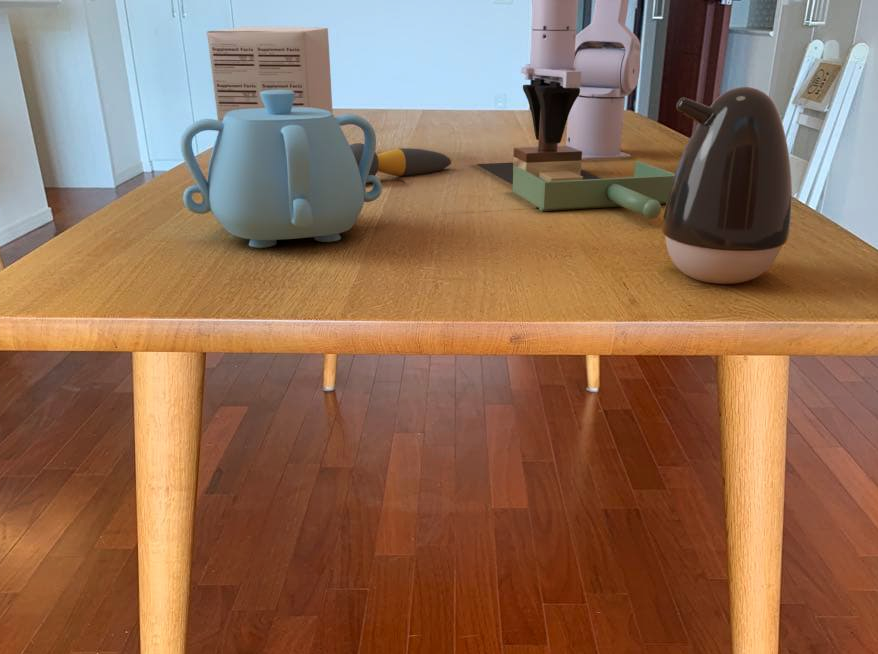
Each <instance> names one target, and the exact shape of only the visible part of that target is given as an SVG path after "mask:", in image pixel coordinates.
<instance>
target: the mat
mask: <svg viewBox="0 0 878 654" xmlns="http://www.w3.org/2000/svg"><path fill="white" fill-rule="evenodd" d="M476 166H478V167H480V168H481V169H484V170H485V171H487V172H489V173H491V174H492V175H494V176H496V177H497V178H499V179H501V180H503V181H505V182H506V183H509V184H510V185H512V186H513V162H495V163H493V162H492V163H476ZM580 176H582V177H583V180H588V179H602V178H601V177H599V176H597V175H594V174H592V173H589V172H587V171H585V170H583V169H581V174H580Z"/></svg>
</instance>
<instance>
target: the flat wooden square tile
mask: <svg viewBox="0 0 878 654" xmlns="http://www.w3.org/2000/svg"><path fill="white" fill-rule="evenodd" d="M538 177H539V178H541V179H543V180H545V181H547V182H549V181H569V180H583V177H582V176H580V175H578V174H576V173H573V172H571V171H550V172H539V173H538Z"/></svg>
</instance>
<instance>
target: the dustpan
mask: <svg viewBox="0 0 878 654" xmlns="http://www.w3.org/2000/svg"><path fill="white" fill-rule="evenodd" d="M634 163H635V164H634V173H633V176H631V177H630V176H629V177H613V178H611V177H610V178H601V179H588V180H569V181H549V182H547V181H545V180H543V179H541V178H539V177H537V176H535V175H533V174H531V173H529V172H527V171H525V170H523V169H521V168H519V167H517V166H516V167H513V185H512V193H513V194H515V195H517V196H519V197H521V198H522V199H524V200H525V201H527V202H529V203H531V204H533V206H536V207H535V208H536V209H537V210H539V211H541V212H552V211H554V212H555V211H568V210H569V211H571V210H585V209H586V210H587V209H601V208H602V209H603V208H604V209H605V208H618V207H619V208H620V207H622V208H625V209H627V210H629V211H631V212H633V213H635V214H638V215H640V216H642V217H644V218H646V219H649V220H653V219H656V218H658V217H659V216H660V214H661V212H662V205H666V203H667V200H668V196H669V192H670V188H671V185H672V182H673V178H674V175H675V173H676V172H675V173H674V172H672V171H668V170H666V169H663V168H661V167H657V166H655V165H652V164H649V163H646V162H643V161H641V160H635V162H634Z"/></svg>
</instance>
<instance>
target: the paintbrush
mask: <svg viewBox="0 0 878 654" xmlns="http://www.w3.org/2000/svg"><path fill="white" fill-rule="evenodd" d="M349 145H350V147H351V150H352V152H353V154H354V156H355V159H356V162H357V165H358V168H359V165H360V161H361V158H362V154H363V150H364V143H359V142H357V143H352V144H349ZM451 163H452V160H451V158H450V156H449V157H448V155H445V154H444V153H441V152H438V151H434V150H428V149H420V148H405V147H404V148H403V147H402V148H393V149H391V150H387V151H384V152H381V153H378V154H377V152H375V153H374V157H373V161H372V164H371V167H370V171H369V174H368V175H374V176H376V175H377V173H378V172H379V173H381V174H385V175H389V176H393V177H411V176H419V175H426V174H432V173H437V172H439V171H442V170H444V169H446V168H447V167H449V166H450V165H451Z"/></svg>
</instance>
